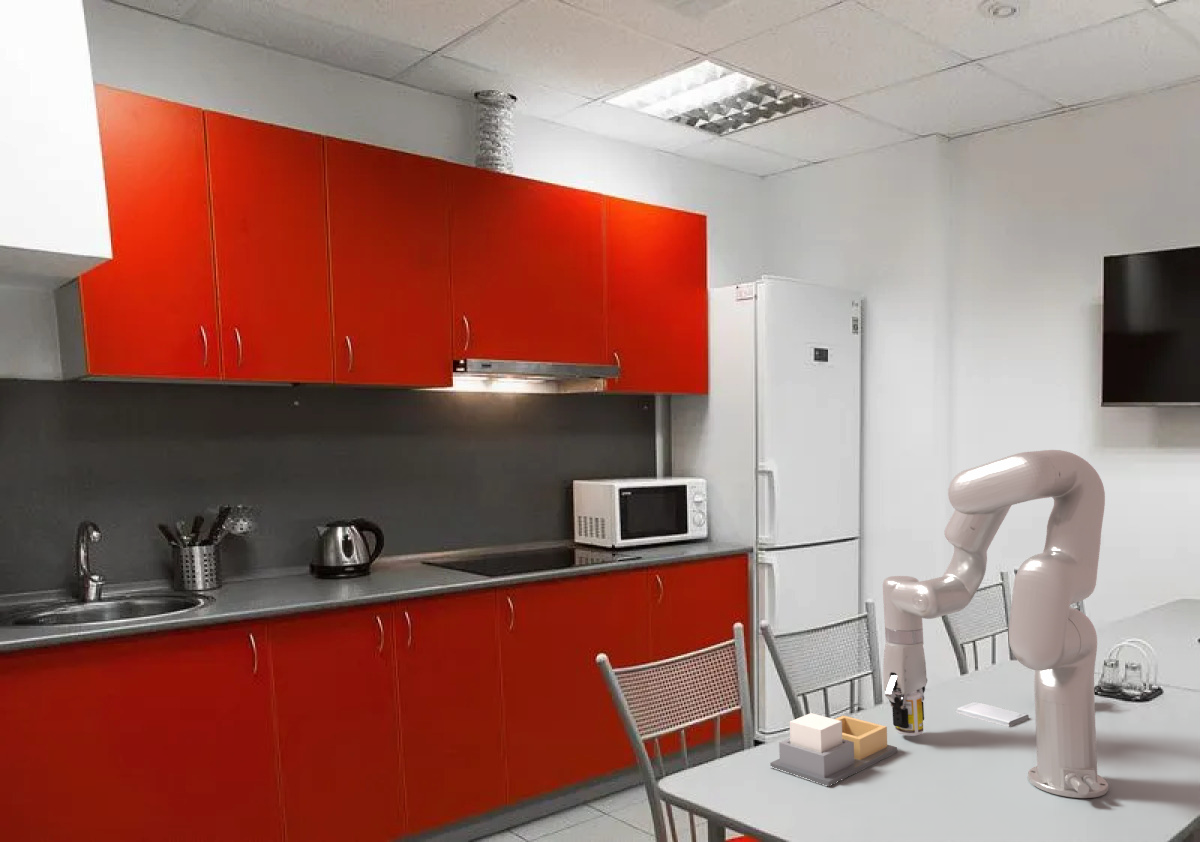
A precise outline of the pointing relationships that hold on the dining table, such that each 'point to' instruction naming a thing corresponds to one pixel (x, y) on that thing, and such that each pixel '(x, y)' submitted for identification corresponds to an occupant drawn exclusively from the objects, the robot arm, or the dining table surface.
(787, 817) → the dining table surface
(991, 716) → the hard drive
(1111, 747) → the dining table surface
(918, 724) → the supplement bottle
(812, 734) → the block sorting tray
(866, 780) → the dining table surface
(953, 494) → the robot arm
